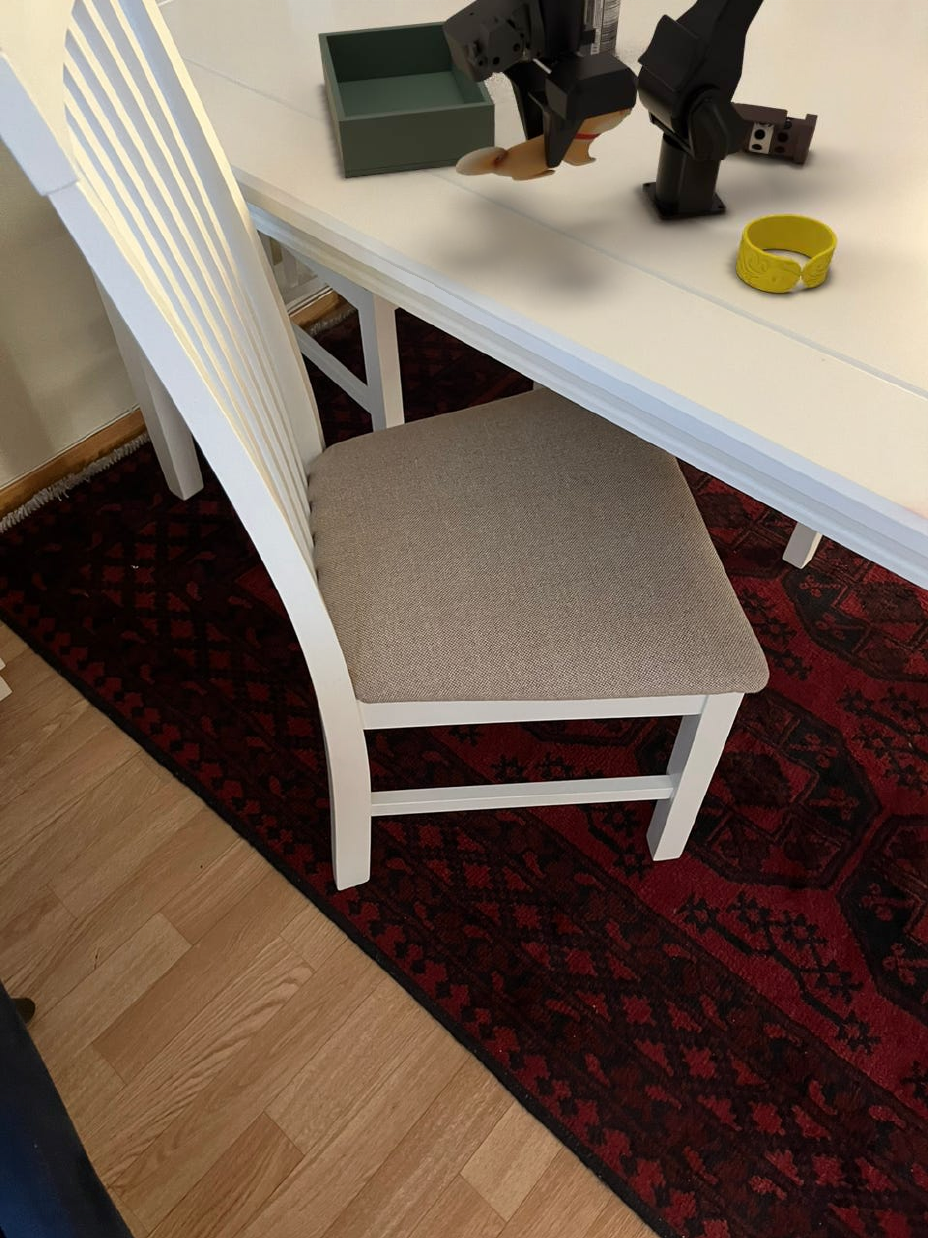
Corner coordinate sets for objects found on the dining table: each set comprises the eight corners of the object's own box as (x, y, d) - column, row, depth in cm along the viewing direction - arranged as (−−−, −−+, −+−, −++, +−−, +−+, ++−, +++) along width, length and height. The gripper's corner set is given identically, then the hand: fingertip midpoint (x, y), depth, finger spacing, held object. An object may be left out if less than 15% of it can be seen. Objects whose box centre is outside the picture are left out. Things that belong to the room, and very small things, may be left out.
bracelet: (720, 255, 85) (728, 221, 83) (800, 241, 87) (809, 206, 84) (758, 299, 81) (767, 264, 78) (841, 283, 82) (852, 248, 80)
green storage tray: (494, 160, 97) (494, 104, 93) (345, 177, 96) (338, 120, 91) (456, 72, 110) (455, 19, 106) (324, 86, 109) (318, 33, 104)
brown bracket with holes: (801, 173, 96) (807, 143, 91) (692, 155, 99) (692, 124, 94) (813, 134, 97) (820, 102, 91) (704, 117, 99) (705, 85, 94)
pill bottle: (556, 52, 113) (562, -59, 104) (601, 44, 114) (610, -66, 105) (577, 72, 110) (585, -41, 101) (623, 63, 111) (635, -49, 102)
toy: (638, 154, 84) (644, 95, 80) (464, 199, 80) (463, 139, 76) (618, 140, 86) (624, 81, 82) (448, 183, 82) (446, 123, 78)
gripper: (405, -72, 73) (417, 132, 86) (512, 12, 63) (508, 231, 75) (532, -94, 76) (526, 107, 88) (654, -18, 65) (628, 198, 78)
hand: (543, 157), depth 82 cm, fingers closed on toy, 3 cm apart
